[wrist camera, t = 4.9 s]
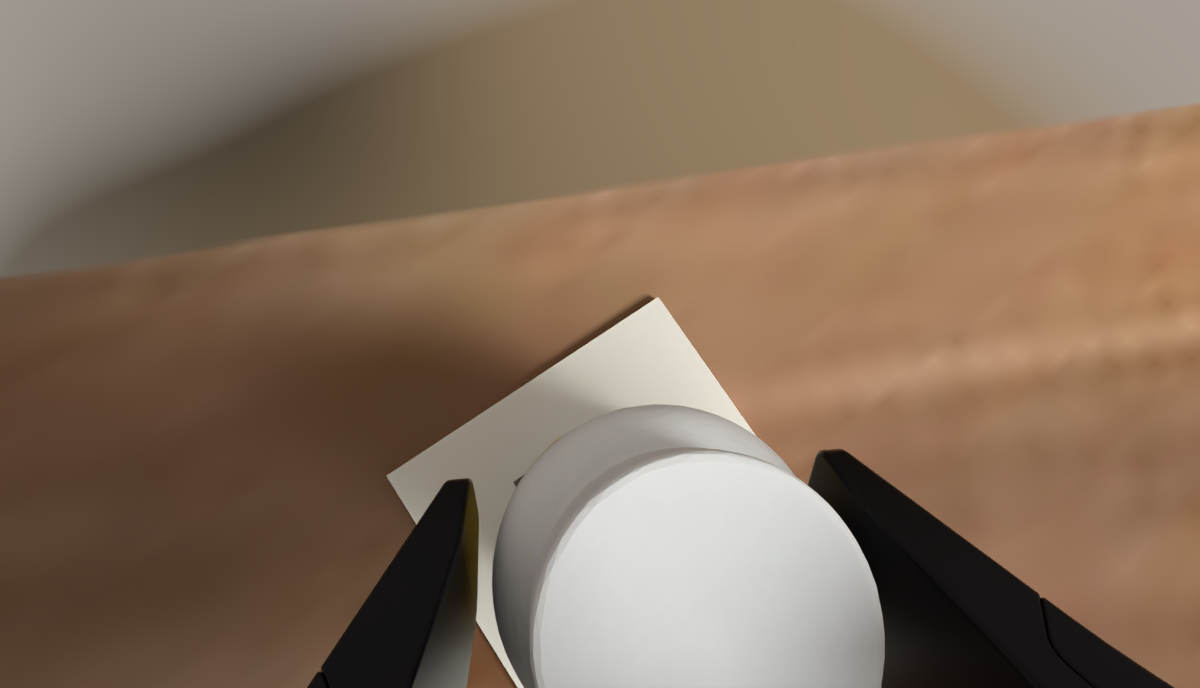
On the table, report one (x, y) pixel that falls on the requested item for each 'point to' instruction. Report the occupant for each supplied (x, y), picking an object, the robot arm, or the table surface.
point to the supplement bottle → (679, 564)
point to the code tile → (559, 425)
